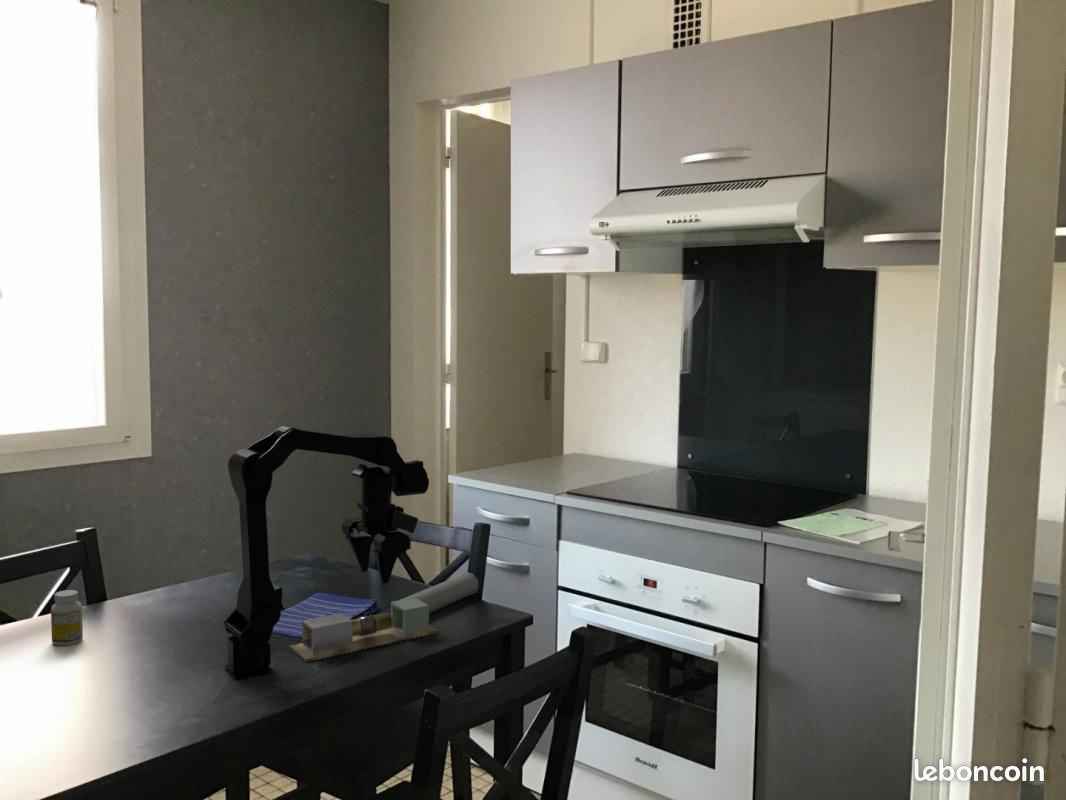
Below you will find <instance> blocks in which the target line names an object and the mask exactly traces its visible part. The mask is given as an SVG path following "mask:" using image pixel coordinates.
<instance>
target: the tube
mask: <svg viewBox="0 0 1066 800" xmlns="http://www.w3.org/2000/svg"><path fill="white" fill-rule="evenodd" d="M478 590H479V579H478V578H477V577H476V576H475V575H474V573H472V572H466V571H464V572H462V574H460V575H457V576H456V577H453V578H450V579H448V580H444V581H443V582H440V583H437V584H435V585H433V586H430V587H428V588H426V589H423V590H421V591H418V592H416V593H414V594H411V595H409V596H406V597H404V598H401V599H400V600H404V599H409V598H416V599H418V600H420V601H422V602H424V603H426V604H427V605H429V614H432V613H433V611H434V612H436V611H438V610H441V609H443V608H445V607H447V606H449V605H448V604H450V603H452V602H454V603H456V602H455V601H457V600H459V599H461V600H463V599H464V598H463V597H466V598H468V597H470V596H475V594H476V593H477V592H478ZM462 598H463V599H462ZM459 601H460V600H459ZM457 602H458V601H457ZM452 604H453V603H452ZM446 605H447V606H446ZM450 605H451V604H450ZM444 606H445V607H444ZM442 607H443V608H442ZM440 608H441V609H440ZM431 612H432V613H431Z"/></svg>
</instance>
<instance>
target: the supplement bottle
mask: <svg viewBox="0 0 1066 800" xmlns="http://www.w3.org/2000/svg"><path fill="white" fill-rule="evenodd" d="M78 599H79V592H78V591H77V590H72V589H67V590H66V589H65V590H61V591H58V592H55V593H54V602H55V603H54V604H52V606H51V608H50V621H51V625H50V627H51V628H50V629H51V643H52V644H53V645H54V646H58V647H64V646H72V645H76V644H78V643H80V642H81V641H82V640H83V638H84V636H83V634H84V633H83V627H84V626H83V605H82V603H81V602H80V601H78Z"/></svg>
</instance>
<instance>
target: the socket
mask: <svg viewBox="0 0 1066 800" xmlns="http://www.w3.org/2000/svg"><path fill="white" fill-rule="evenodd" d="M390 615H391V618H392V628H393V629H395V630H396V631H398V632H400V633H401V634H403V635H404V636H405V635H409V634H414V633H419V632H423V631H428V630H429V626H430V620H429V619H430V613H429V605H427V604H426V603H424V602H422V601H420V600H418V599H416V598H409V599H404V600H401V599H400V600H394V601H390Z"/></svg>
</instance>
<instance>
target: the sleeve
mask: <svg viewBox="0 0 1066 800" xmlns="http://www.w3.org/2000/svg"><path fill="white" fill-rule="evenodd" d="M310 629H311V630H312V643H311V641H310V637H309V631H310ZM301 643H302V646H303V647H304V648H305V649H307V650H308V651H309V652H310V653H312V654H313V655H314V654H318V653H323V652H327V651H332V650H337V649H341V648H346V647H350V646H353V621H352V620H351V619H349V618H348V617H346V616H345V615H343V614H342V613H340V614H334V615H329V616H324V617H319V618H314V619H308V620H303V621H302V641H301Z"/></svg>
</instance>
